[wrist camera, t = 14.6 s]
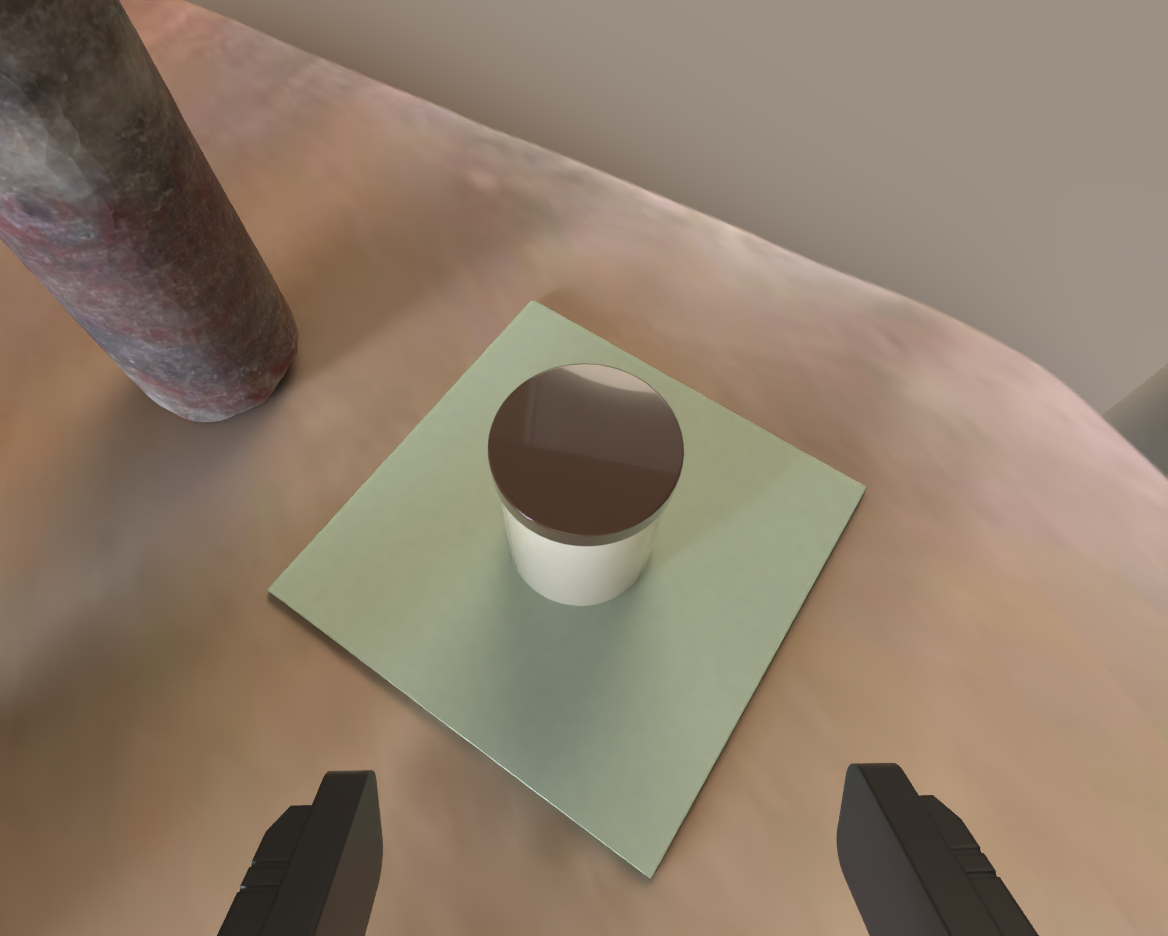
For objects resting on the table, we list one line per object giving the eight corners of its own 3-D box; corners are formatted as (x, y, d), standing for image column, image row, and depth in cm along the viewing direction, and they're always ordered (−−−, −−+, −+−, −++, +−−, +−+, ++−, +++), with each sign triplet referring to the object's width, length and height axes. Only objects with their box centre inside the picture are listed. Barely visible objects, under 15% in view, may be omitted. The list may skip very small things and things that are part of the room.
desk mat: (532, 302, 36) (532, 298, 36) (864, 489, 32) (867, 487, 32) (269, 591, 29) (266, 589, 29) (650, 878, 25) (651, 879, 25)
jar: (639, 626, 29) (665, 556, 22) (486, 589, 29) (461, 509, 22) (667, 485, 32) (699, 382, 25) (527, 454, 32) (517, 344, 25)
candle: (107, 356, 34) (-389, -169, 16) (238, 269, 37) (-67, -268, 19) (203, 455, 32) (-247, -28, 14) (336, 355, 35) (96, -161, 17)
